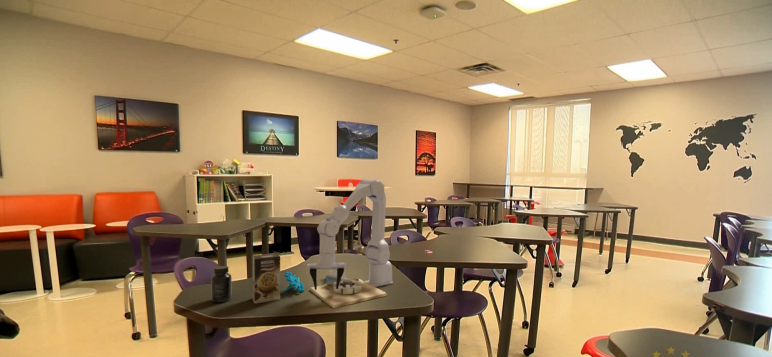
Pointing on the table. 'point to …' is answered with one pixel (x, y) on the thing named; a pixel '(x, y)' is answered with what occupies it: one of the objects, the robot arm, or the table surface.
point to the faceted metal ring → (341, 289)
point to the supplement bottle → (221, 285)
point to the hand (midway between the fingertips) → (326, 288)
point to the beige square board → (345, 299)
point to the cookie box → (266, 278)
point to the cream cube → (334, 273)
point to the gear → (294, 282)
